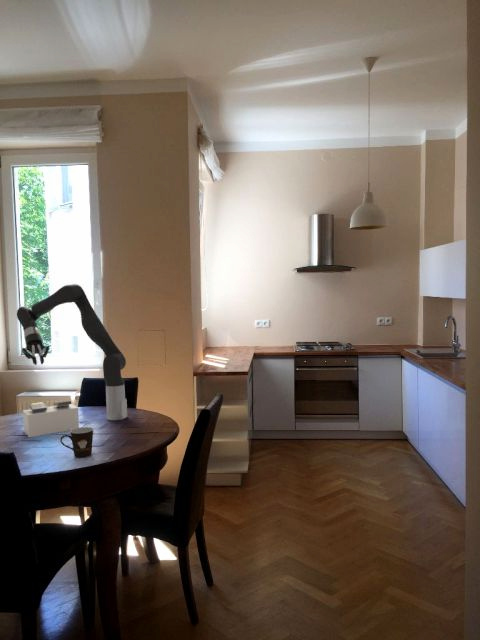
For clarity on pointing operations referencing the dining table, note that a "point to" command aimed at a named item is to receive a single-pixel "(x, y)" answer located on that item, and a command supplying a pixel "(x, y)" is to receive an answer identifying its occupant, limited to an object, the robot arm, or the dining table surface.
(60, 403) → the block
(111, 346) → the robot arm
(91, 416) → the dining table surface
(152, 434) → the dining table surface
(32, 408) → the rocker outer
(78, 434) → the coffee mug
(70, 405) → the switch box
